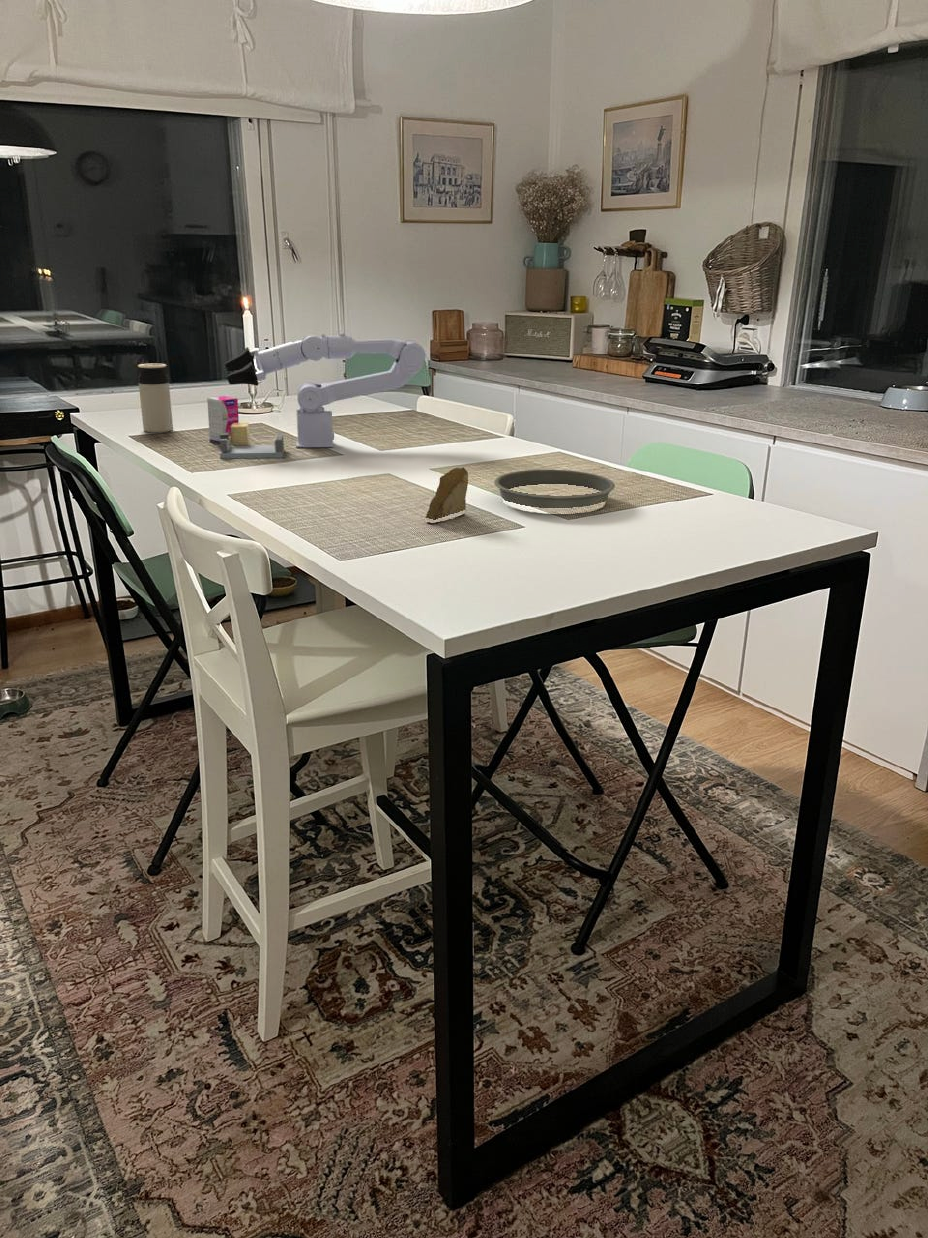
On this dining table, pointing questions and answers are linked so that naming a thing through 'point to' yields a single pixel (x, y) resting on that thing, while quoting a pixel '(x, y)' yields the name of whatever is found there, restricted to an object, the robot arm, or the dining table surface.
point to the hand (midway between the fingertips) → (227, 373)
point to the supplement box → (221, 416)
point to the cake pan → (553, 477)
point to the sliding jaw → (225, 441)
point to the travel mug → (155, 398)
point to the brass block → (240, 434)
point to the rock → (449, 494)
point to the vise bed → (257, 450)
